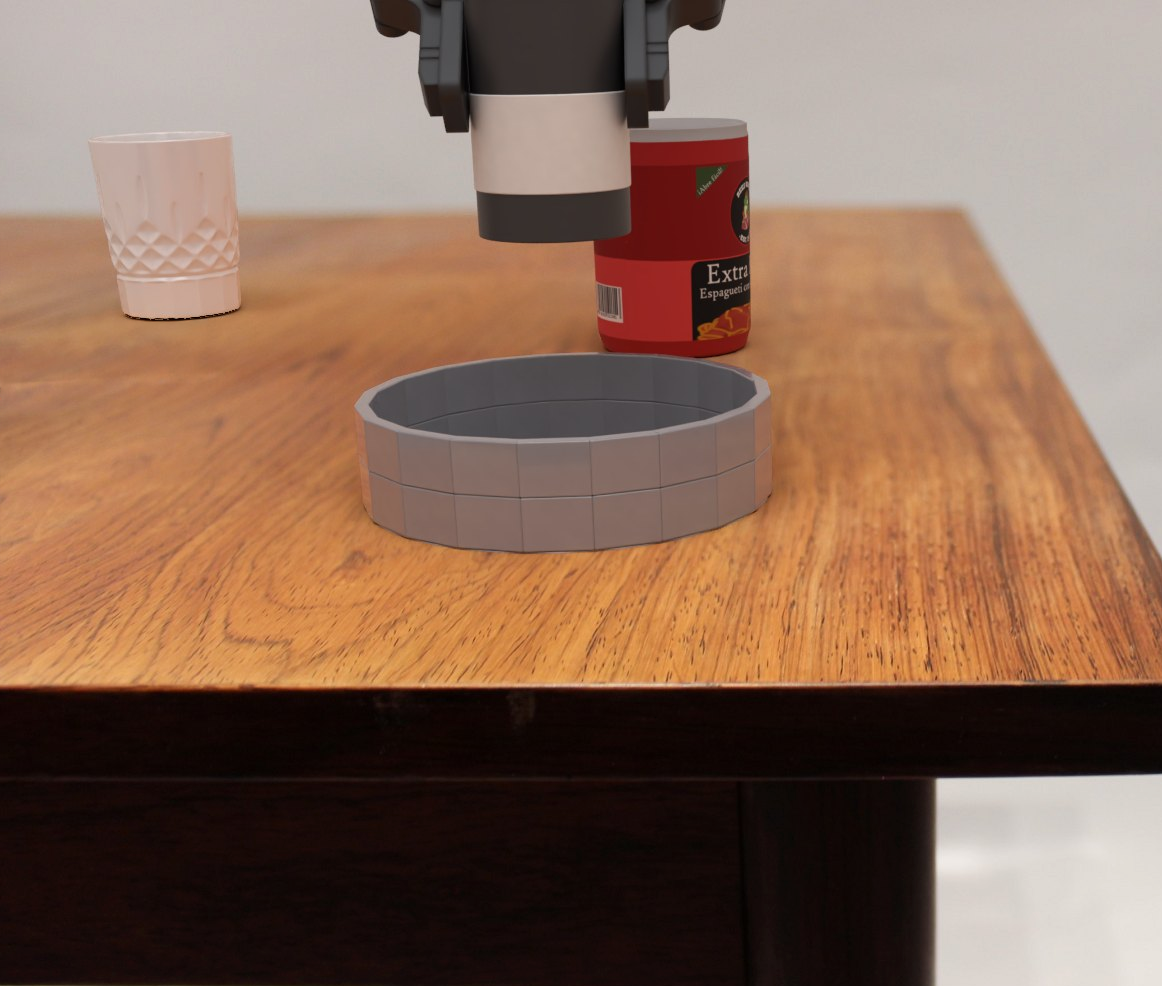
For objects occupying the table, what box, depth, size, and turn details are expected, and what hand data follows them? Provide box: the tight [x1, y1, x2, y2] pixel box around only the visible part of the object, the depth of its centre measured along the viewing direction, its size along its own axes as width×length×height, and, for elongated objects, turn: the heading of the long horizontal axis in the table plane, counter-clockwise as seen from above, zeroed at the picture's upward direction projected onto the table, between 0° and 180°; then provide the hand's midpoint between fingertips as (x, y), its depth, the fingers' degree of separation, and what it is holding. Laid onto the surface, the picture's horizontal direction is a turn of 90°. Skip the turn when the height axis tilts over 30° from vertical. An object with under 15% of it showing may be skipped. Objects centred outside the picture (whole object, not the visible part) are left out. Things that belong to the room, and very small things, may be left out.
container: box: [464, 0, 631, 244], centre depth 54 cm, size 5×5×8 cm
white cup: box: [87, 130, 242, 318], centre depth 98 cm, size 8×8×10 cm
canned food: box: [592, 117, 752, 358], centre depth 84 cm, size 8×8×11 cm
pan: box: [353, 351, 773, 555], centre depth 58 cm, size 14×14×4 cm
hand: (544, 111), depth 52 cm, fingers closed on container, 5 cm apart
